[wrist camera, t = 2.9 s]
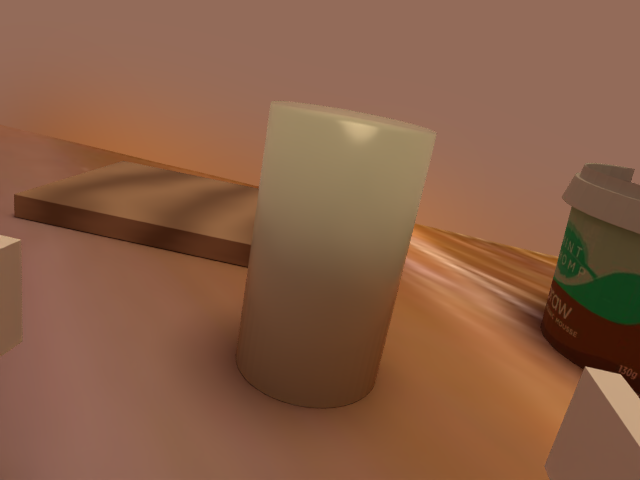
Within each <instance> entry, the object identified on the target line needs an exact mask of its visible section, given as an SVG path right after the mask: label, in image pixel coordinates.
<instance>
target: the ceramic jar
mask: <svg viewBox="0 0 640 480" xmlns="http://www.w3.org/2000/svg"><path fill="white" fill-rule="evenodd" d="M436 135H437V133H436V132H434V131H432V130H430V129H427V128H424V127H421V126H417V125H413V124H410V123H406V122H402V121H398V120H394V119H390V118H385V117H381V116H376V115H371V114H366V113H361V112H356V111H350V110H345V109H338V108H333V107H327V106H320V105H313V104H306V103H297V102H286V101H274V102H271V106H270V112H269V120H268V128H267V134H266V141H265V149H264V156H263V163H262V170H261V177H260V185H259V192H258V199H257V206H256V213H255V221H254V228H253V235H252V242H251V249H250V257H249V264H248V271H247V278H246V286H245V293H244V300H243V307H242V314H241V322H240V329H239V336H238V343H237V350H236V363H237V366H238V369H239V371H240V373H241V374H242V375H243V377H244V378H245V379H246V380H247V381H248V382H249V383H250V384H251V385H252V386H254V387H255V388H256V389H258V390H259V391H261V392H263V393H264V394H266V395H268V396H270V397H272V398H275V399H277V400H280V401H283V402H286V403H289V404H293V405H298V406H303V407H312V408H333V407H340V406H345V405H348V404H352V403H354V402H356V401H359V400H360V399H362V398H363V397H365V396H366V395H367V394H368V393H369V392H370V391H371V390H372V388H373V387H374V384H375V381H376V377H377V373H378V369H379V365H380V361H381V357H382V353H383V349H384V345H385V341H386V337H387V333H388V329H389V325H390V321H391V317H392V313H393V309H394V304H395V300H396V296H397V292H398V288H399V284H400V280H401V276H402V272H403V268H404V264H405V260H406V256H407V252H408V248H409V244H410V240H411V236H412V232H413V228H414V224H415V219H416V216H417V212H418V207H419V203H420V199H421V195H422V191H423V187H424V183H425V179H426V175H427V171H428V167H429V163H430V159H431V154H432V151H433V147H434V143H435V138H436Z"/></svg>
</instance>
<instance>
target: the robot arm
mask: <svg viewBox="0 0 640 480" xmlns="http://www.w3.org/2000/svg"><path fill="white" fill-rule="evenodd" d="M21 342H22V266H21V240H20V239H15V238H11V237H6V236H2V235H0V357H1V356H2V355H4V354H5V353H7V352H8V351H10V350H11V349H12V348H14V347H15V346H17V345H18V344H19V343H21ZM545 469H546V471H547V474H548V476H549V479H550V480H640V398H639V397H638V396H637V394H636V393H635V392H634V391H633V389H632V388H631V387H630V385H629V384H628V383H627V382H626V380H625V379H624V378H623V377H622V375H621V374H617V373H612V372H608V371H603V370H599V369H594V368H590V367H586V366H585V368H584V370H583V373H582V375H581V377H580V380H579V382H578V385H577V387H576V390H575V392H574V395H573V397H572V400H571V402H570V405H569V407H568V409H567V412H566V414H565V417H564V419H563V422H562V424H561V427H560V429H559V432H558V434H557V437H556V439H555V441H554V444H553V446H552V449H551V451H550V454H549V456H548V459H547V461H546V464H545Z"/></svg>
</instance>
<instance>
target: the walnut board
mask: <svg viewBox="0 0 640 480" xmlns="http://www.w3.org/2000/svg"><path fill="white" fill-rule="evenodd" d="M258 192H259V189H258V188H253V187H248V186H243V185H238V184H233V183H228V182H224V181H219V180H214V179H209V178H204V177H199V176H194V175H189V174H184V173H180V172H175V171H170V170H165V169H160V168H155V167H150V166H145V165H141V164H136V163H131V162H126V161H122V162H118V163H115V164H112V165H108V166H105V167H102V168H99V169H95V170H92V171H89V172H86V173H82V174H79V175H76V176H73V177H69V178H66V179H63V180H59V181H56V182H53V183H50V184H46V185H43V186H40V187H37V188H33V189H30V190H27V191H24V192H20V193H17V194H14V211H15V217H19V218H24V219H29V220H33V221H38V222H42V223H47V224H52V225H56V226H61V227H66V228H70V229H75V230H79V231H84V232H89V233H93V234H98V235H102V236H107V237H112V238H116V239H121V240H126V241H130V242H135V243H139V244H144V245H149V246H153V247H158V248H163V249H167V250H172V251H176V252H181V253H186V254H190V255H195V256H199V257H204V258H209V259H213V260H218V261H223V262H227V263H232V264H236V265H241V266H246V267H248V264H249V257H250V249H251V242H252V235H253V228H254V221H255V213H256V206H257V199H258Z"/></svg>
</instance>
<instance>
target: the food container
mask: <svg viewBox="0 0 640 480" xmlns="http://www.w3.org/2000/svg"><path fill="white" fill-rule="evenodd" d="M634 170H635V169H631V168H626V167H621V166H614V165H607V164H597V163H586V164H585V165H584V167H583V169H582V171H581V173H576V174H575V176H574V178H573V179H572V181H571V183H570V184H569V186H568V187H567V189H566V191H565V192H564V194H563V196H562V198H563V200H564V201H565V202H566V203H568V204H569V205H571V206H572V208H571V212H570V215H569V220H568V223H567V227H566V231H565V235H564V239H563V242H562V246H561V250H560V254H559V258H558V262H557V266H556V269H555V273H554V277H553V281H552V285H551V289H550V293H549V296H548V300H547V304H546V308H545V312H544V316H543V320H542V323H541V330H542V333H543V336H544V337H545V338H546V340H547V341H548V342H549V343H550V344H551V345H552V346H553V347H554V348H555V349H556V350H557V351H558V352H559V353H561V354H562V355H563V356H564V357H566V358H567V359H569V360H570V361H572V362H573V363H575V364H576V365H578V366H580V367H581V368H583V369H584V368H585V366H586V367H590V368H594V369H599V370H603V371H608V372H612V373H617V374H621V375H622V377H623V378H624V379H625V380H626V382H627V383H628V384H629V385H630V387H631V388H632V389H633V391H634V392H636V393H639V394H640V185H638V184H635V183H631V180H632V176H633V173H634Z"/></svg>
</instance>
